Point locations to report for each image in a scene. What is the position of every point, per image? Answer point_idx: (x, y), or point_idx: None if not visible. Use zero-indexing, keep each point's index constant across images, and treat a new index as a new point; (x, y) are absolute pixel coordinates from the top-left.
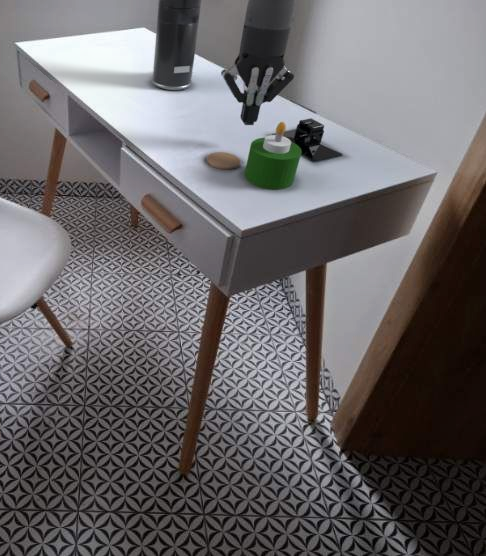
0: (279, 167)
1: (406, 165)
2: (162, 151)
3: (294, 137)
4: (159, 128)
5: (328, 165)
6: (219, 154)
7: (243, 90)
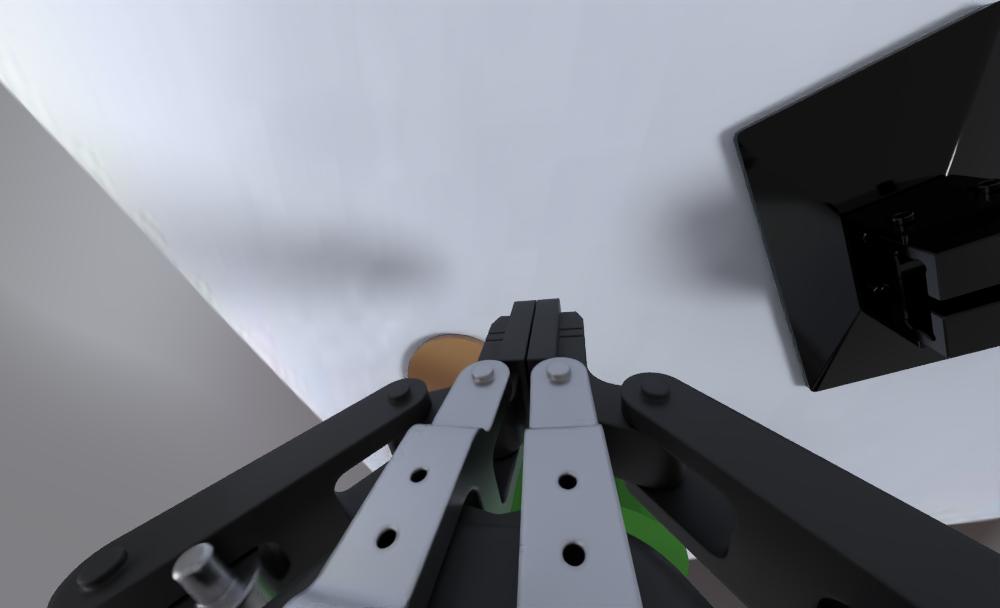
0: None
1: None
2: (273, 320)
3: (843, 220)
4: (196, 117)
5: (855, 405)
6: (446, 354)
7: (434, 419)
